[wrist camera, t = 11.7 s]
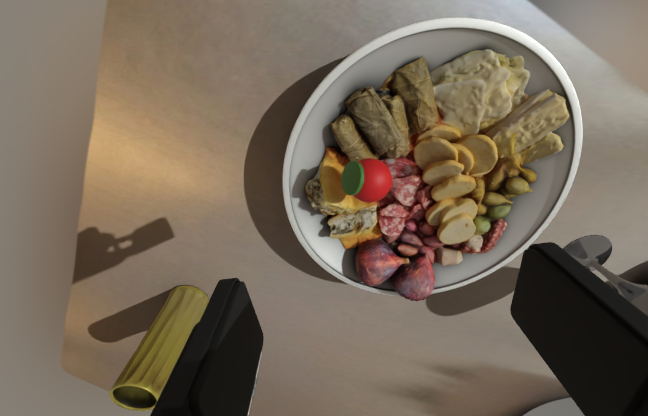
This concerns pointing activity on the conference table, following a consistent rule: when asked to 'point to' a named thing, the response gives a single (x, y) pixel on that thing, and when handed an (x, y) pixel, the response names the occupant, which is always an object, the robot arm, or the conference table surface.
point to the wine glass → (593, 256)
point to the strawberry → (366, 180)
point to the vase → (159, 350)
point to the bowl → (434, 156)
